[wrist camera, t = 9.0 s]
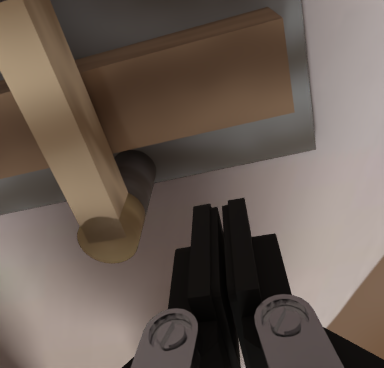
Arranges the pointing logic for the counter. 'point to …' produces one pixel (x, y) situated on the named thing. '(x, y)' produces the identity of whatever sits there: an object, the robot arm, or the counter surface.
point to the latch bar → (68, 129)
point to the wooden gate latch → (173, 91)
